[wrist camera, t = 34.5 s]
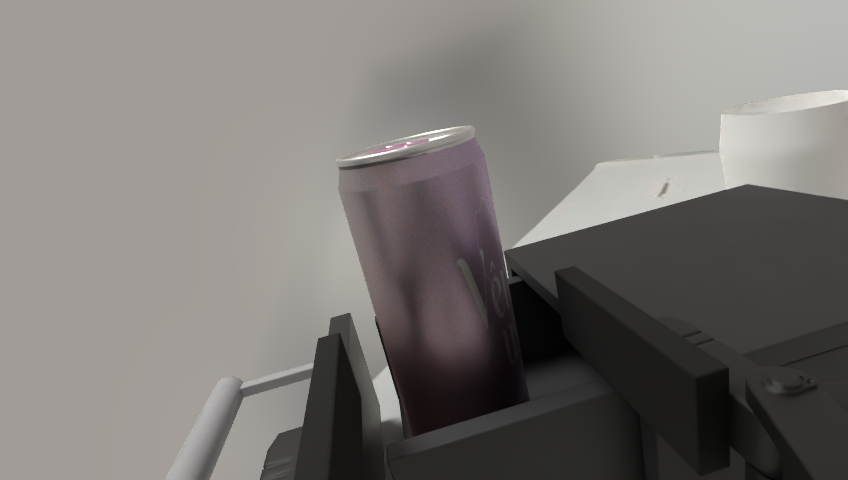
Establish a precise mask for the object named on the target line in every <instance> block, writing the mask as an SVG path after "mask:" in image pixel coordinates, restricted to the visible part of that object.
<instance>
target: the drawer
mask: <svg viewBox="0 0 848 480" xmlns="http://www.w3.org/2000/svg"><path fill="white" fill-rule="evenodd" d="M508 284H509V290H510V295H511V300H512V306H513V311H514V317H515V322H516V327H517V333H518V338H519V344H520V349H521V354H522V360H523V365H524V371H525V376H526V381H527V387H528V392H529V398H530V401H528V402H525V403H522V404H519V405H515V406H512V407H509V408H506V409H502V410H499V411H496V412H493V413H489V414H486V415H483V416H480V417H476V418H473V419H470V420H467V421H463V422H460V423H457V424H454V425H450V426H447V427H444V428H441V429H437V430H434V431H431V432H428V433H424V434H421V435H418V436H415V437H412V435H411V432H410V429H409V425H408V422H407V419H406V415H405V412H404V409H403V405H402V402H401V398H400V395H399V392H398V388H397V385H396V382H395V378H394V375H393V372H392V368H391V365H390V361H389V358H388V355H387V351H386V348H385V345H384V341H383V338H382V335H381V331H380V328H379V325H378V321H377V318H376V316H375V321H376V325H377V329H378V332H379V336H380V339H381V342H382V345H383V349H384V352H385V355H386V359H387V362H388V366H389V369H390V372H391V376H392V379H393V382H394V386H395V389H396V392H397V396H398V399H399V404H400V411H401V418H402V424H403V431H404V438H405V440H402V441H398V442H395V443H392V444H389V445H387V458H388V464H389V467H390V470H391V473H392V476H393V479H394V480H646V479H645V468H644V456H643V445H642V434H641V422H640V414H639V413H638V412H637V411H636V410H635V409H634V408H633V407H632V406H631V405H630V404H629V403H628V402H627V401H626V400H625V399H624V398H623V397H622V396H621V395H620V394H619V393H618V392H617V391H616V390H615V389H614V388H613V387H612V386H611V385H610V384H609V383H608V382H607V381H606V379H605V378H604V377H603V376H602V375H601V374H600V373H599V372H598V371H597V370H596V369H595V368H594V367H593V366H592V365H591V364H590V363H589V362H588V361H587V360H586V359H585V358H584V357H583V356H582V355H581V354H580V353H579V352H578V351H577V350H576V349H575V348H574V347H573V346H572V344H571V343H570V342H569V341H568V340H567V339H566V338H565V337H564V334H563V328H562V321H561V315H560V314H559V313H558V312H557V311H555V310H554V309H553V308H552V307H551V306H550V305H549V304H548V303H547V302H546V301H545V300H544V299H543V298H542V297H541V296H540V295H539V294H538V293H537V292H536V291H535V290H533V289H532V288H531V287H530V286H529V285H528V284H527V283H526V282H525V281H524V280H523V279H522V278H521V277H520V276H515V277H511V278H508ZM339 332H340V334H341V337H342V340H343V343H344V346H345V349H346V352H347V355H348V358H349V361H350V364H351V367H352V370H353V373H354V376H355V379H356V382H357V385H358V388H359V391H360V394H361V399H362V448H363V480H385V467H384V454H383V442H382V429H381V416H380V405H379V402H378V399H377V396H376V392H375V389H374V386H373V383H372V380H371V377H370V374H369V371H368V367H367V364H366V361H365V358H364V355H363V352H362V348H361V345H360V342H359V339H358V336H357V333H356V330H355V326H354V323H353V320H352V317H351V314H350V313H347V314H344V315H340V316H336V317H333V318H331V320H330V327H329V335H332V334H336V333H339ZM329 335H328V336H329ZM313 366H314V363H310V364H306V365H303V366H299V367H296V368H292V369H289V370H286V371H282V372H278V373H275V374H271V375H268V376H264V377H261V378H258V379H254V380H251V381H247V382H244V383H243V382H242V381H241V380H240V379H238V378H236V377H225V378H222V379H221V380H220V381H218V382H217V384H216V386H215V388H214V389H213V391H212V393H211V395H210V397H209V399H208V401H207V402H206V404H205V406H204V408H203V410H202V412H201V414H200V416H199V417H198V419H197V421H196V423H195V425H194V426H193V428H192V430H191V432H190V434H189V436H188V438H187V440H186V441H185V443H184V445H183V447H182V449H181V451H180V453H179V454H178V456H177V458H176V460H175V462H174V464H173V465H172V467H171V469H170V471H169V473H168V475H167V477H166V479H165V480H209V479H210V477H211V474H212V472H213V470H214V467H215V465H216V462H217V460H218V457H219V455H220V453H221V450H222V448H223V446H224V443H225V441H226V438H227V436H228V433H229V431H230V429H231V426H232V424H233V421H234V419H235V417H236V414H237V411H238V409H239V407H240V405H241V402H242V400H243V397H247V396H250V395H254V394H257V393H260V392H264V391H267V390H271V389H274V388H277V387H281V386H285V385H288V384H292V383H295V382H298V381H302V380H305V379H309V378H311V377H312V371H313Z"/></svg>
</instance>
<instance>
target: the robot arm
mask: <svg viewBox="0 0 848 480" xmlns="http://www.w3.org/2000/svg"><path fill="white" fill-rule="evenodd" d="M554 273H555V280H556V287H557V294H558V300H559V307H560V314H561V321H562V328H563V334H564V337H565V338H566V339H567V340H568V341H569V342H570V343H571V344H572V346H573V347H574V348H575V349H576V350H577V351H578V352H579V353H580V354H581V355H582V356H583V357H584V358H585V359H586V360H587V361H588V362H589V363H590V364H591V365H592V366H593V367H594V368H595V369H596V370H597V371H598V372H599V373H600V374H601V375H602V376H603V377H604V378H605V379H606V381H607V382H608V383H609V384H610V385H611V386H612V387H613V388H614V389H615V390H616V391H617V392H618V393H619V394H620V395H621V396H622V397H623V398H624V399H625V400H626V401H627V402H628V403H629V404H630V405H631V406H632V407H633V408H634V409H635V410H636V411H637V412H638V413H639V414H640V415H641V417H642V418H643V419H644V420H645V421H646V422H647V423H648V424H649V425H650V426H651V427H652V428H653V429H654V430H655V431H656V432H657V433H658V434H659V435H660V436H661V437H662V438H663V439H664V440H665V441H666V442H667V443H668V444H669V445H670V446H671V447H672V448H673V449H674V450H675V452H676V453H677V454H678V455H679V456H680V457H681V458H682V459H683V460H684V461H685V462H686V463H687V464H688V465H689V466H690V467H691V468H692V469H693V470H694V471H695V472H696V473H697V474H698V475H699V476H700V477H701V476H704V475H707V474H710V473H713V472H716V471H719V470H722V469H725V468H728V467H730V446H731V447H732V448H733V449H734V450H735V451H736V452H738V453H739V454H740V455H741V456H742V457H743V458H745V480H848V380H841V381H824V382H819V381H818V380H817V379H815V378H814V377H812V376H811V375H808V374H806V373H804V372H801V371H799V370H796V369H792V368H787V367H783V366H763V367H761V366H760V365H758V364H756V363H755V362H753V361H751V360H750V359H748V358H746V357H745V356H743V355H741V354H740V353H738V352H736V351H735V350H733V349H731V348H730V347H728V346H726V345H725V344H723V343H721V342H720V341H718V340H714V338H713V337H711V336H710V335H708V334H706V333H705V332H703V333H702V331H701V330H700V329H698V328H696V327H695V326H693V325H691V324H690V323H688V322H686V321H684V320H680V319H677V318H674V317H671V316H667V315H665V316H662V317H659V318H656V319H655V318H653V317H652V316H650V315H649V314H647V313H645V312H644V311H642V310H641V309H639V308H638V307H636V306H635V305H633V304H632V303H630V302H629V301H627V300H626V299H624V298H623V297H621V296H620V295H618V294H616V293H615V292H613V291H612V290H610V289H609V288H607V287H606V286H604V285H603V284H601V283H600V282H598V281H597V280H595V279H594V278H592V277H591V276H589V275H588V274H586V273H584V272H583V271H581V270H580V269H578V268H577V267H575V266H571V267H567V268H564V269H560V270H557V271H554ZM263 467H264V470H262V474H261V478H260V480H363V448H362V399H361V394H360V391H359V388H358V385H357V382H356V379H355V376H354V373H353V370H352V367H351V364H350V361H349V358H348V355H347V352H346V349H345V346H344V343H343V340H342V337H341V334H340V332H339V333H336V334H332V335H329V336H325V337H322V338H319V339H318V343H317V348H316V354H315V360H314V366H313V371H312V377H311V383H310V389H309V395H308V400H307V406H306V412H305V418H304V424H303V427H299V428H296V429H293V430H289V431H286V432H283V433H280V434H279V435H278V436H277V437H276V439H275V440H274V442H273V443H272V445H271V446H270V448H269V449H268V451H267V455H266V459H265V463H264V466H263Z"/></svg>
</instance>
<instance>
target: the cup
mask: <svg viewBox="0 0 848 480" xmlns="http://www.w3.org/2000/svg"><path fill="white" fill-rule="evenodd" d="M719 151H720V157H721V163H722V168H723V174H724V179H725V184H726V190H727V189H731V188H734V187H738V186H742V185H745V184H751V185H757V186H763V187H770V188H776V189H782V190H788V191H795V192H801V193H807V194H813V195H820V196H826V197H832V198H838V199H845V200H848V90H833V91H822V92H812V93H804V94H797V95H790V96H783V97H777V98H771V99H766V100H761V101H756V102H751V103H746V104H743V105H739V106H735V107H732V108H729V109H726V110H724V111H722V113H721V133H720V143H719Z"/></svg>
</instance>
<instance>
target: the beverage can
mask: <svg viewBox="0 0 848 480" xmlns="http://www.w3.org/2000/svg"><path fill="white" fill-rule="evenodd" d="M474 133H475V129H474V127H473V126H459V127H453V128H447V129H442V130H437V131H432V132H427V133H423V134H418V135H414V136H409V137H405V138H401V139H397V140H393V141H389V142H386V143H382V144H378V145H374V146H371V147H367V148H364V149H360V150H357V151H354V152H351V153H348V154H346V155H343V156H341V157H339V158H337V159H336V166H338V167H339V186H338V190H339V193H340V197H341V200H342V204H343V206H344V210H345V214H346V217H347V220H348V223H349V227H350V230H351V233H352V237H353V240H354V244H355V247H356V251H357V254H358V257H359V260H360V264H361V267H362V271H363V274H364V277H365V281H366V284H367V287H368V291H369V294H370V298H371V301H372V304H373V307H374V311H375V314H376V318H377V321H378V325H379V328H380V331H381V335H382V338H383V341H384V345H385V348H386V351H387V355H388V358H389V361H390V365H391V368H392V372H393V375H394V378H395V382H396V385H397V388H398V392H399V395H400V398H401V402H402V405H403V409H404V412H405V415H406V419H407V422H408V425H409V429H410V432H411V435H412V437H415V436H418V435H421V434H424V433H428V432H431V431H434V430H437V429H441V428H444V427H447V426H450V425H454V424H457V423H460V422H463V421H467V420H470V419H473V418H476V417H480V416H483V415H486V414H489V413H493V412H496V411H499V410H502V409H506V408H509V407H512V406H515V405H519V404H522V403H525V402H528V401H530V398H529V392H528V387H527V381H526V376H525V371H524V365H523V360H522V354H521V349H520V344H519V338H518V333H517V327H516V322H515V317H514V311H513V306H512V300H511V295H510V290H509V284H508V279H507V273H506V268H505V263H504V257H503V252H502V247H501V241H500V236H499V230H498V225H497V219H496V214H495V209H494V203H493V198H492V192H491V187H490V182H489V177H488V171H487V165H486V160H485V155H484V153H483V151H482V149H481V148H480V146H479V144H478V142H477V140H476V138H475V136H474Z"/></svg>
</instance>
